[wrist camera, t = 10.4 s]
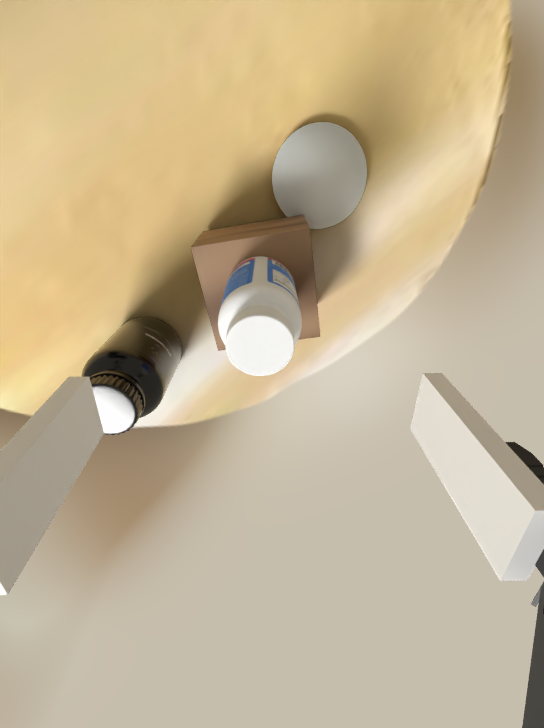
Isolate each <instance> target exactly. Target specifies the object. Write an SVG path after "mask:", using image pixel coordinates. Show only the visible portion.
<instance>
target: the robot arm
mask: <svg viewBox="0 0 544 728" xmlns="http://www.w3.org/2000/svg"><path fill="white" fill-rule="evenodd" d="M410 429H411V431H412V433H413V434H414V436H415V438H416V439H417V441H418V443H419V444H420V446H421V448H422V449H423V451H424V453H425V455H426V456H427V458H428V460H429V461H430V463H431V465H432V466H433V468H434V470H435V471H436V473H437V475H438V476H439V478H440V480H441V482H442V483H443V485H444V487H445V488H446V490H447V492H448V493H449V495H450V497H451V498H452V500H453V502H454V503H455V505H456V507H457V509H458V510H459V512H460V514H461V515H462V517H463V519H464V521H465V522H466V524H467V526H468V527H469V529H470V530H471V532H472V534H473V535H474V537H475V539H476V541H477V542H478V544H479V546H480V547H481V549H482V551H483V553H484V554H485V556H486V558H487V559H488V561H489V563H490V564H491V566H492V568H493V569H494V571H495V573H496V574H497V576H498V578H499V580H500V581H516V580H517V581H519V580H528V579H529V577H530V575H531V574H532V572H533V570H534V568H535V566H536V567H537V568H538V570H539V571H540V573H541V574H542V575H543V577H544V467H543V465H542V463H540V461H539V460H538V459H537V458H536V457H535V456H534V455H533V454H532V453H531V452H529V451H527V450H526V449H524V448H523V447H521V446H520V445H518V444H517V443H515V442H504V441H503V440H502V438H501V437H500V436H499V435H498V434H497V433H496V432H495V431H494V430H493V429H492V427H491V426H490V425H489V424H488V423H487V422H486V421H485V420H484V419H483V418H482V417H481V416H480V414H479V413H478V412H477V411H476V410H475V409H474V408H473V407H472V406H471V405H470V403H469V402H468V401H467V400H466V399H465V398H464V397H463V396H462V395H461V394H460V393H459V391H458V390H457V389H456V388H455V387H454V386H453V385H452V384H451V383H450V382H449V380H447V379H446V377H445V376H444V375H443V374H442V373H423V375H422V380H421V384H420V388H419V393H418V397H417V401H416V406H415V410H414V415H413V419H412V423H411V428H410ZM103 434H104V431H103V427H102V423H101V419H100V416H99V412H98V408H97V404H96V400H95V397H94V393H93V389H92V385H91V382H90V378H89V377H68V379H67V380H66V381H65V382H64V383H63V384H62V385H61V386H60V387H59V388H58V389H57V390H56V391H55V392H54V393H53V395H52V396H51V397H50V398H49V399H48V400H47V401H46V402H45V403H44V404H43V405H42V406H41V407H40V408H39V410H38V411H37V412H36V413H35V414H34V415H33V416H32V417H31V418H30V419H29V420H28V421H27V422H26V424H25V425H24V426H23V427H22V428H21V429H20V430H19V431H18V432H17V433H16V434H15V435H14V436H13V437H12V438H11V440H10V441H9V442H8V443H7V444H6V445H5V446H4V447H3V448H2V449H1V450H0V595H8V593H9V592H10V590H11V588H12V587H13V585H14V583H15V582H16V580H17V578H18V577H19V575H20V573H21V571H22V570H23V568H24V566H25V565H26V563H27V561H28V560H29V558H30V556H31V555H32V553H33V551H34V550H35V548H36V546H37V545H38V543H39V541H40V540H41V538H42V536H43V535H44V533H45V531H46V530H47V528H48V526H49V525H50V523H51V521H52V519H53V518H54V516H55V515H56V513H57V511H58V509H59V508H60V506H61V505H62V503H63V501H64V499H65V498H66V496H67V494H68V493H69V491H70V489H71V488H72V486H73V484H74V483H75V481H76V479H77V478H78V476H79V474H80V472H81V471H82V469H83V468H84V466H85V464H86V463H87V461H88V459H89V458H90V456H91V454H92V452H93V451H94V449H95V447H96V446H97V444H98V443H99V441H100V439H101V437H102V436H103ZM538 602H539V605H538V613H537V620H536V628H535V636H534V643H533V651H532V659H531V667H530V673H529V681H528V689H527V696H526V704H525V711H524V719H523V726H522V728H544V582H543V584H542V586H541V587H540V589H539V591H538V593H537V594H536V596H535V597H534V599H533V601H532V603H531V604H532V605H533V606H535V607H536V606H537V604H538Z"/></svg>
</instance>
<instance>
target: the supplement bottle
mask: <svg viewBox="0 0 544 728" xmlns="http://www.w3.org/2000/svg"><path fill="white" fill-rule="evenodd" d="M181 354H182V347H181V342H180V340H179V337H178V336H177V334H176V332H175V331H174V330H173V329H172V328H171V327H170V326H169V325H167V324H166V323H164V322H163V321H161V320H158V319H155V318H151V317H138V318H134V319H131V320H129V321H128V322H126V323H125V324H123V325H122V326H121V327H120V328H119V329H118V330H117V331H116V332H115V333H114V334H113V335H112V336H111V337H110V338H109V339H108V340H107V341H106V342H105V343H104V344H103V345H102V346H101V347H100V348H99V350H98V351H97V352H96V353H95V354H94V355H93V356H92V357H91V358H90V359H89V360H88V361H87V363H86V364H85V366H84V369H83V371H82V377H89V378H90V382H91V385H92V389H93V393H94V397H95V400H96V404H97V408H98V412H99V416H100V419H101V423H102V427H103V431H104V434H106V435H109V434H111V435H114V434H120V433H124V432H125V431H129V430H130V428H132V427H133V426H134V424H135V423H136V422H137V420H138V419H139V418H141V417H144V416H146V415H148V414H149V413H151V412H152V411H154V410H155V409H156V408H157V406H158V405H159V404H160V402H161V400H162V398H163V396H164V394H165V392H166V390H167V388H168V386H169V383H170V381H171V379H172V377H173V375H174V373H175V371H176V369H177V366H178V364H179V362H180V359H181Z"/></svg>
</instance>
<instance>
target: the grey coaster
mask: <svg viewBox="0 0 544 728" xmlns="http://www.w3.org/2000/svg"><path fill="white" fill-rule="evenodd" d="M366 181H367V164H366V158H365V155H364V152H363V150H362V147H361V145H360V144H359V142H358V141H357V139H356V138H355V137H354V136H353V135H352V134H351V133H350V132H349V131H348V130H346V129H345V128H343V127H342V126H339V125H337V124H334V123H330V122H316V123H311V124H308V125H305V126H303V127H301V128H300V129H298V130H296V131H295V132H294V133H292V134H291V135H290V136H289V137H288V138H287V140H286V141H285V142H284V143H283V145H282V146H281V148H280V150H279V151H278V153H277V156H276V158H275V161H274V165H273V170H272V187H273V192H274V196H275V199H276V201H277V203H278V205H279V207H280V208H281V210H282V211H283V213H284V214H285V215H286V216H287V217H292V216H298V215H304V216H305V219H306V221H307V223H308V225H309V227H310V229H323V228H328V227H331V226H334V225H336V224H338V223H340V222H341V221H343V220H344V219H345V218H347V217H348V216H349V215H350V214H351V213H352V212H353V211H354V209H355V208H356V207H357V205H358V203H359V202H360V200H361V198H362V195H363V193H364V190H365V186H366Z"/></svg>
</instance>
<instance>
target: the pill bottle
mask: <svg viewBox="0 0 544 728" xmlns="http://www.w3.org/2000/svg"><path fill="white" fill-rule="evenodd" d="M218 329H219V333H220V336H221V339H222V341H223V343H224V344H225V348H226V353H227V356H228V357H229V359H230V361H231V362H232V364H233V365H234V366H235V367H236V368H238V369H239V370H241V371H242V372H244V373H247V374H250V375H255V376H265V375H270V374H274V373H276V372H278V371H280V370H281V369H282V368H284V367H285V366H286V365H287V364H288V363H289V361H290V360H291V358H292V356H293V353H294V347H295V344H296V343H297V341H298V339H299V337H300V333H301V329H302V318H301V312H300V307H299V302H298V297H297V293H296V288H295V283H294V280H293V277H292V275H291V274H290V272H289V271H288V269H287V268H286V267H285V266H284V265H283V264H281V263H280V262H278V261H277V260H275V259H272V258H269V257H264V256H257V257H251V258H248V259H246V260H244V261H242V262H241V263H240V264H238V265H237V266H236V267H235V268H234V270H233V271H232V273H231V275H230V276H229V279H228V282H227V285H226V289H225V292H224V296H223V300H222V304H221V307H220V311H219V316H218Z"/></svg>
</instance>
